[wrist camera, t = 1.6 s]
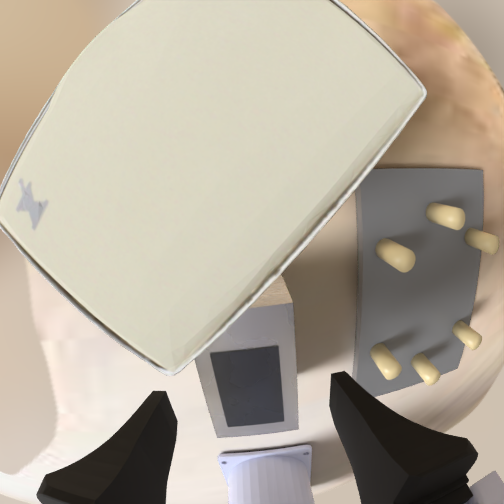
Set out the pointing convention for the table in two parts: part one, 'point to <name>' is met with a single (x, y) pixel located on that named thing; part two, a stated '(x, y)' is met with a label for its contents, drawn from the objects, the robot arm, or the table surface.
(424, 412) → the table surface
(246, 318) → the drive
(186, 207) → the skincare box
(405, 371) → the grey peg board
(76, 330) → the table surface
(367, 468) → the robot arm
